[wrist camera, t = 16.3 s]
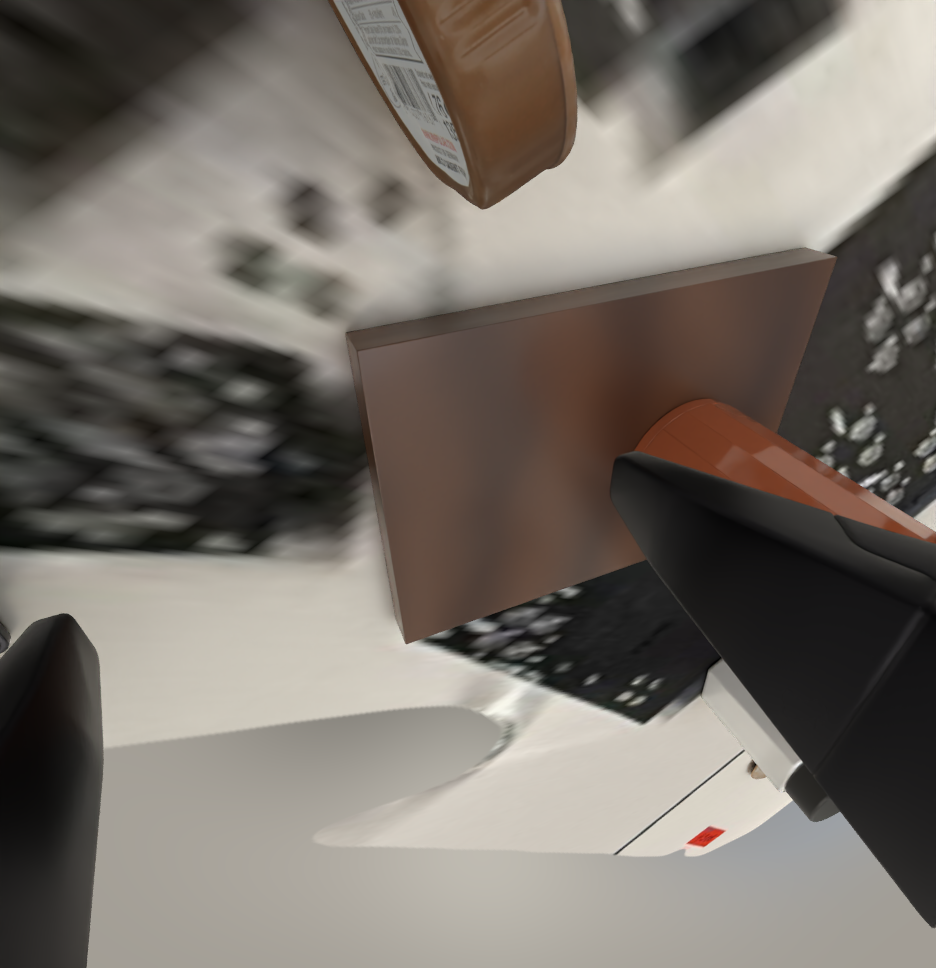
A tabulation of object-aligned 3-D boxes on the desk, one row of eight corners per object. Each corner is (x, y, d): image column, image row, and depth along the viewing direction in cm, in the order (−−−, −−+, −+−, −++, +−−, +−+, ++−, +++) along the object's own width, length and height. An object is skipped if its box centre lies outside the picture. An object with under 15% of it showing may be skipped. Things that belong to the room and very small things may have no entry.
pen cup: (643, 531, 31) (829, 716, 22) (607, 455, 27) (821, 651, 18) (742, 458, 31) (969, 617, 22) (723, 371, 27) (998, 525, 18)
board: (395, 619, 30) (405, 644, 29) (344, 332, 20) (356, 350, 19) (724, 507, 36) (745, 525, 35) (805, 247, 27) (837, 256, 25)
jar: (793, 631, 52) (919, 748, 43) (742, 691, 56) (850, 810, 47) (734, 634, 48) (862, 765, 39) (683, 699, 51) (789, 833, 42)
